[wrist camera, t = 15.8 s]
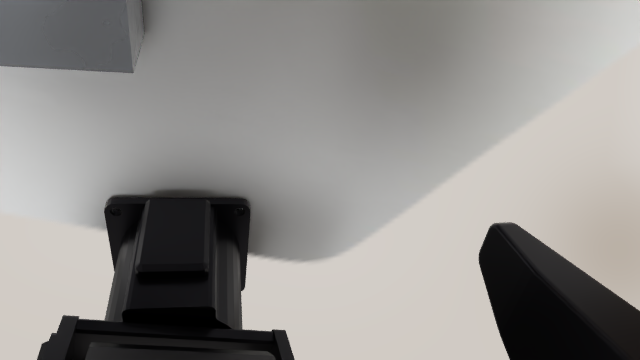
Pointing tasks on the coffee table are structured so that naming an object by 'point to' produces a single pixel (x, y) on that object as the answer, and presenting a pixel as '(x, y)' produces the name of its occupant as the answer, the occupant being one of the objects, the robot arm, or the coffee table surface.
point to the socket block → (71, 34)
